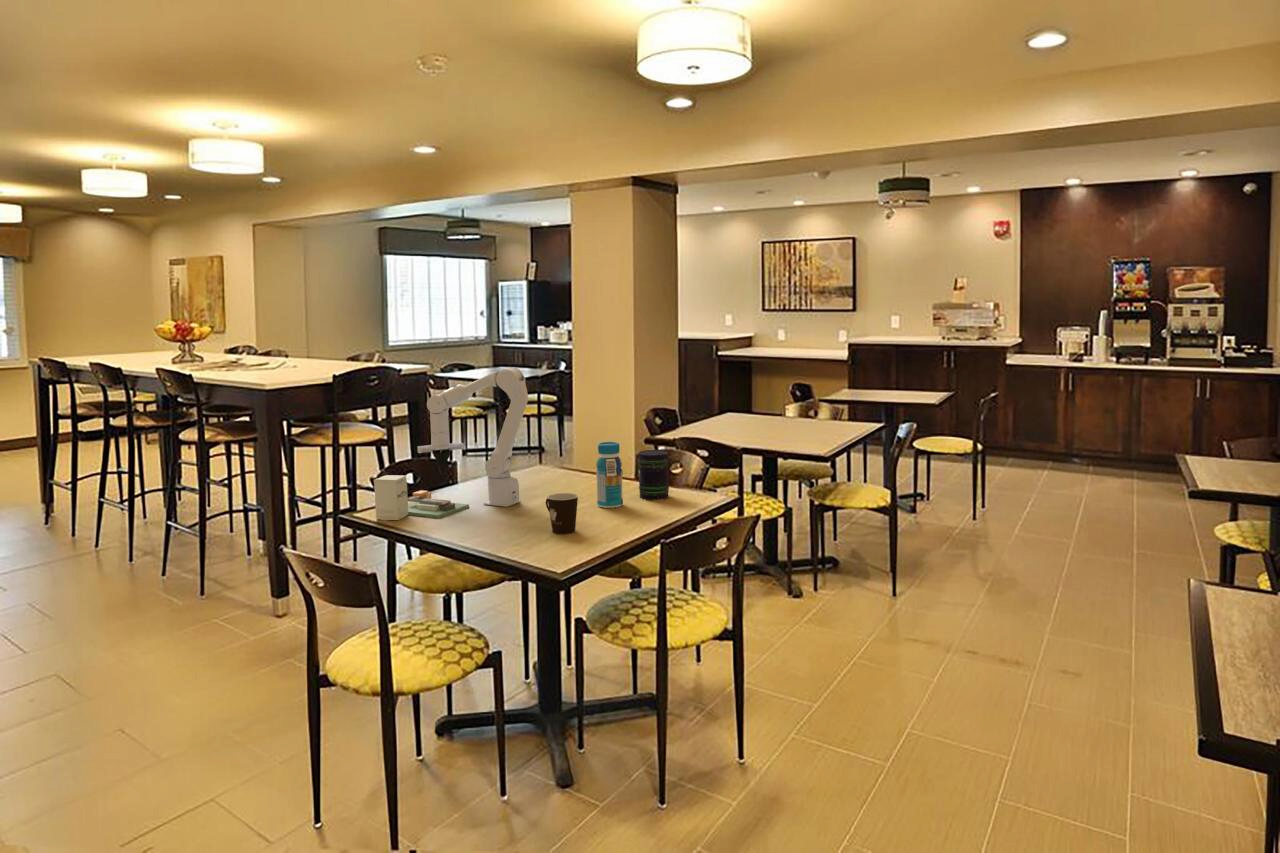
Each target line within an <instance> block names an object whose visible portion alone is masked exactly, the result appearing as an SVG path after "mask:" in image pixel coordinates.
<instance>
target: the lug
mask: <svg viewBox="0 0 1280 853" xmlns="http://www.w3.org/2000/svg"><path fill="white" fill-rule="evenodd" d="M412 496H413V497H421V498H430V499H432V492H429V490H421V489H420V490H418V491H415V492H412Z"/></svg>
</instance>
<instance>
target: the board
mask: <svg viewBox="0 0 1280 853" xmlns="http://www.w3.org/2000/svg"><path fill="white" fill-rule="evenodd" d="M468 507H469V508H470V504H469V503H460V502H451V503H448V504H445V505H437V504H428V503H419V502H412V503H410V504H408V516H413V515H415V516H414V517H422V516H425V517H424V518H431V517H436V518H435V519H441V518H444V517H446V516H445V515H447V516H449V514H450V515H452V514H455V513H457V511H458V512H460V510H461V511H463V509H464V510H465V508H466V509H469V508H468ZM443 516H444V517H443ZM440 517H441V518H440Z"/></svg>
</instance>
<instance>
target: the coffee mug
mask: <svg viewBox="0 0 1280 853" xmlns="http://www.w3.org/2000/svg"><path fill="white" fill-rule="evenodd" d="M578 502H579V494H576V493H570V492H563V493H553V494H549V495H548V496H547V497H546V499H545V507H546V508H547V511H548V513H549V517H550V526H551V530H552V533H553V534H556V535H569V534H572V533H575V532H576V525H577V524H576V523H577V513H578V512H577V510H578Z"/></svg>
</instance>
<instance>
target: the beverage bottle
mask: <svg viewBox="0 0 1280 853" xmlns="http://www.w3.org/2000/svg"><path fill="white" fill-rule="evenodd" d="M597 453H598V455H599V457H598V459H597V460H596V464H595V466H596V471H595V476H596V492H597V493H596V495H597V498H596V499H597V500H596V504H597V506H598V507H600V508H602V507H603V509H615V507H616V508H620V507H621V506H623V504H624V499H623V498H624V496H623V473H624V472H623V471H624V470H623V469H622V466H623V462H622V459H621V458H620V457H619V454H620V443H619V442H617V441H604V442H599V443H598V444H597Z"/></svg>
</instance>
